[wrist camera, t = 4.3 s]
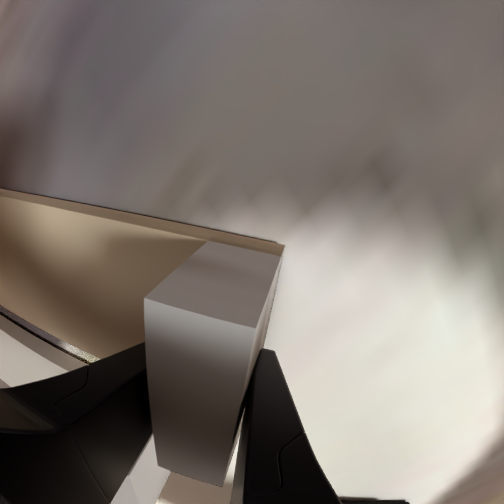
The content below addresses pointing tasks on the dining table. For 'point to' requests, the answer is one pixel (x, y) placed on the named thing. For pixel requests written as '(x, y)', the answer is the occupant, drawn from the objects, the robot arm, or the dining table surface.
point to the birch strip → (149, 310)
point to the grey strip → (57, 362)
